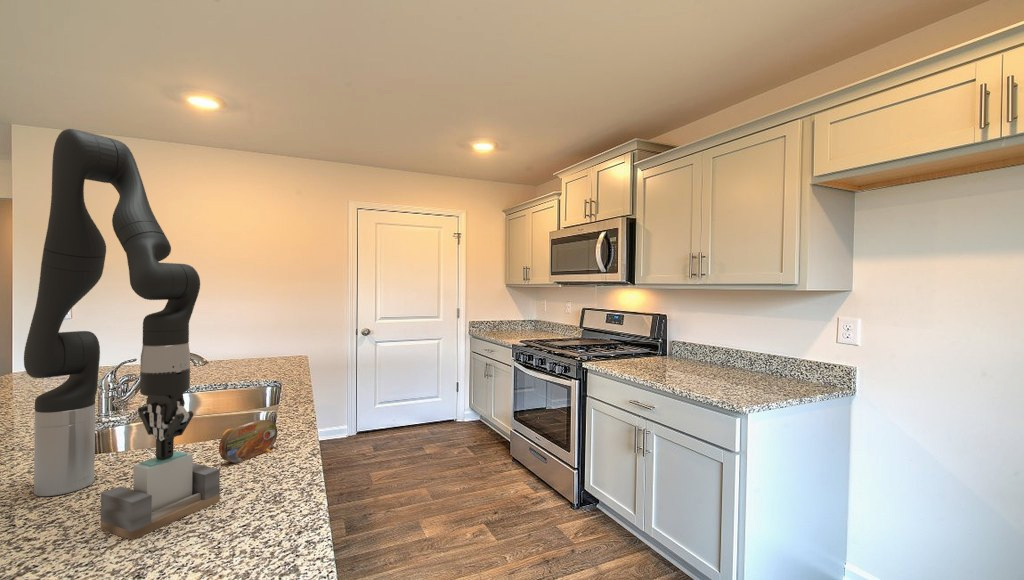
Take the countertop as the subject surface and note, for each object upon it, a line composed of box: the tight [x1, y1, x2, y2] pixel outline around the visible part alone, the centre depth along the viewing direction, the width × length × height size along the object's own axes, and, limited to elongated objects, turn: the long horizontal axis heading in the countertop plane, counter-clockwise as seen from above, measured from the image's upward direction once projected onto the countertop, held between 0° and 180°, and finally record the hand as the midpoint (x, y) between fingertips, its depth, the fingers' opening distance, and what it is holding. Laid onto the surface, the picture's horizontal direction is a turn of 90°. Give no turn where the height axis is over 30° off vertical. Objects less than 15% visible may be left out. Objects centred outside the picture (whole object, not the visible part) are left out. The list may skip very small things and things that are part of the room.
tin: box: [218, 419, 278, 464], centre depth 116 cm, size 15×3×8 cm, turn 159°
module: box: [132, 450, 194, 512], centre depth 86 cm, size 4×8×9 cm, turn 158°
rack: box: [100, 462, 221, 541], centre depth 86 cm, size 9×16×6 cm, turn 159°
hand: (164, 458), depth 86 cm, fingers closed
